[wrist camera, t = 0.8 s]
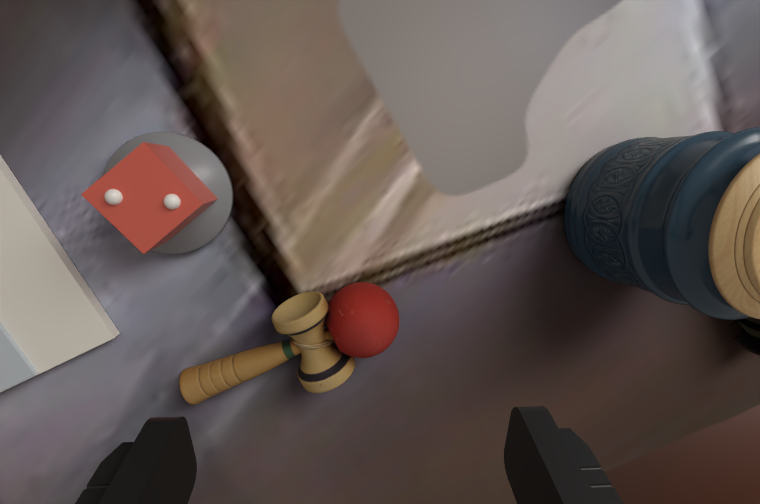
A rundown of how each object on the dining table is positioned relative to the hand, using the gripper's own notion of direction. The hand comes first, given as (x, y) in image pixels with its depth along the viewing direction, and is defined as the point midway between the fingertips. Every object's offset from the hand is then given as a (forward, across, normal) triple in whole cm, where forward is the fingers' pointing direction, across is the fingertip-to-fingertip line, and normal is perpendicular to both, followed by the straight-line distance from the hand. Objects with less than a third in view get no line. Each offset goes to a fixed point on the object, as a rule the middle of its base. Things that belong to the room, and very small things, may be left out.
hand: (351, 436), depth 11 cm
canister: (+29, -25, +4) cm, 38 cm away
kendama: (+23, +5, +13) cm, 27 cm away
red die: (+24, +14, +1) cm, 28 cm away
